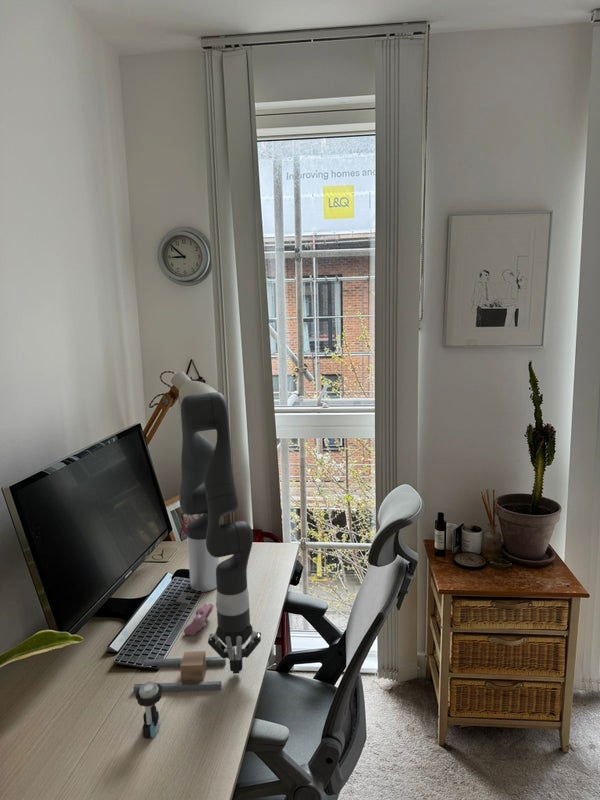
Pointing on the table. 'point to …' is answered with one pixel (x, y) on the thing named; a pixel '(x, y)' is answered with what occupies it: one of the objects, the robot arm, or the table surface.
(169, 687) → the rail channel
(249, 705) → the table surface
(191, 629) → the pink irregular rounded piece
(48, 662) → the table surface
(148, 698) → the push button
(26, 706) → the table surface
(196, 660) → the walnut block
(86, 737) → the table surface
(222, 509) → the robot arm
